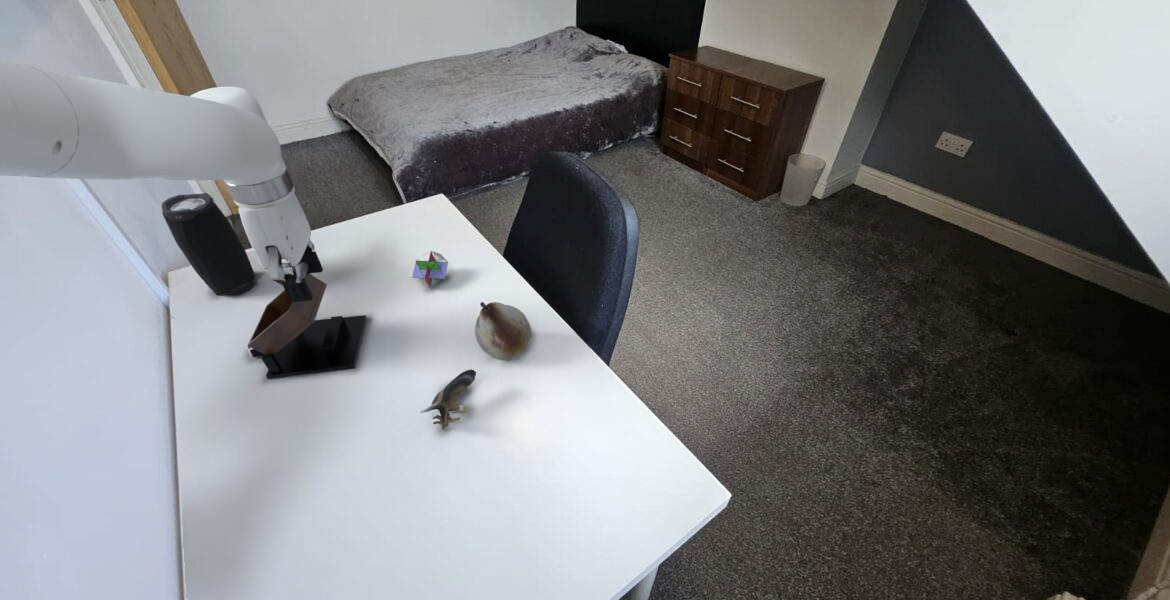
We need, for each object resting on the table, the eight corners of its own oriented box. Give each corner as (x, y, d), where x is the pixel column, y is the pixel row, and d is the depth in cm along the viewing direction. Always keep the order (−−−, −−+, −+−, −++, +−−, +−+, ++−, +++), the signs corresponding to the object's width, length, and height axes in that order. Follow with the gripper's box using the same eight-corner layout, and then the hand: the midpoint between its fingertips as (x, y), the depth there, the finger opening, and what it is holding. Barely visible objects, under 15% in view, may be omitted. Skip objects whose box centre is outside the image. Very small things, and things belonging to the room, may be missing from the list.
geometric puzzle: (441, 290, 95) (441, 250, 94) (407, 289, 95) (407, 249, 94) (451, 288, 102) (452, 251, 101) (419, 287, 102) (420, 250, 101)
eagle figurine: (478, 429, 72) (488, 376, 77) (444, 410, 67) (457, 356, 73) (442, 437, 75) (454, 387, 81) (408, 420, 70) (423, 368, 76)
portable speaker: (265, 270, 101) (221, 187, 89) (250, 298, 95) (200, 213, 82) (221, 273, 100) (171, 190, 87) (203, 302, 93) (145, 216, 80)
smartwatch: (249, 337, 84) (274, 334, 85) (254, 346, 85) (278, 343, 86) (242, 350, 81) (268, 346, 82) (247, 359, 82) (272, 356, 83)
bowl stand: (267, 379, 79) (255, 360, 76) (289, 326, 89) (279, 308, 86) (355, 368, 81) (347, 350, 78) (367, 318, 91) (360, 300, 88)
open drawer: (271, 357, 78) (233, 339, 74) (288, 317, 86) (254, 298, 82) (326, 312, 74) (289, 290, 71) (339, 274, 82) (306, 252, 78)
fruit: (468, 345, 86) (458, 295, 78) (511, 322, 91) (505, 273, 83) (500, 378, 81) (492, 328, 73) (543, 352, 85) (540, 302, 78)
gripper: (251, 160, 70) (296, 257, 82) (205, 220, 58) (266, 325, 69) (305, 157, 72) (342, 253, 83) (272, 215, 59) (321, 319, 71)
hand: (307, 284), depth 76 cm, fingers closed on open drawer, 6 cm apart
